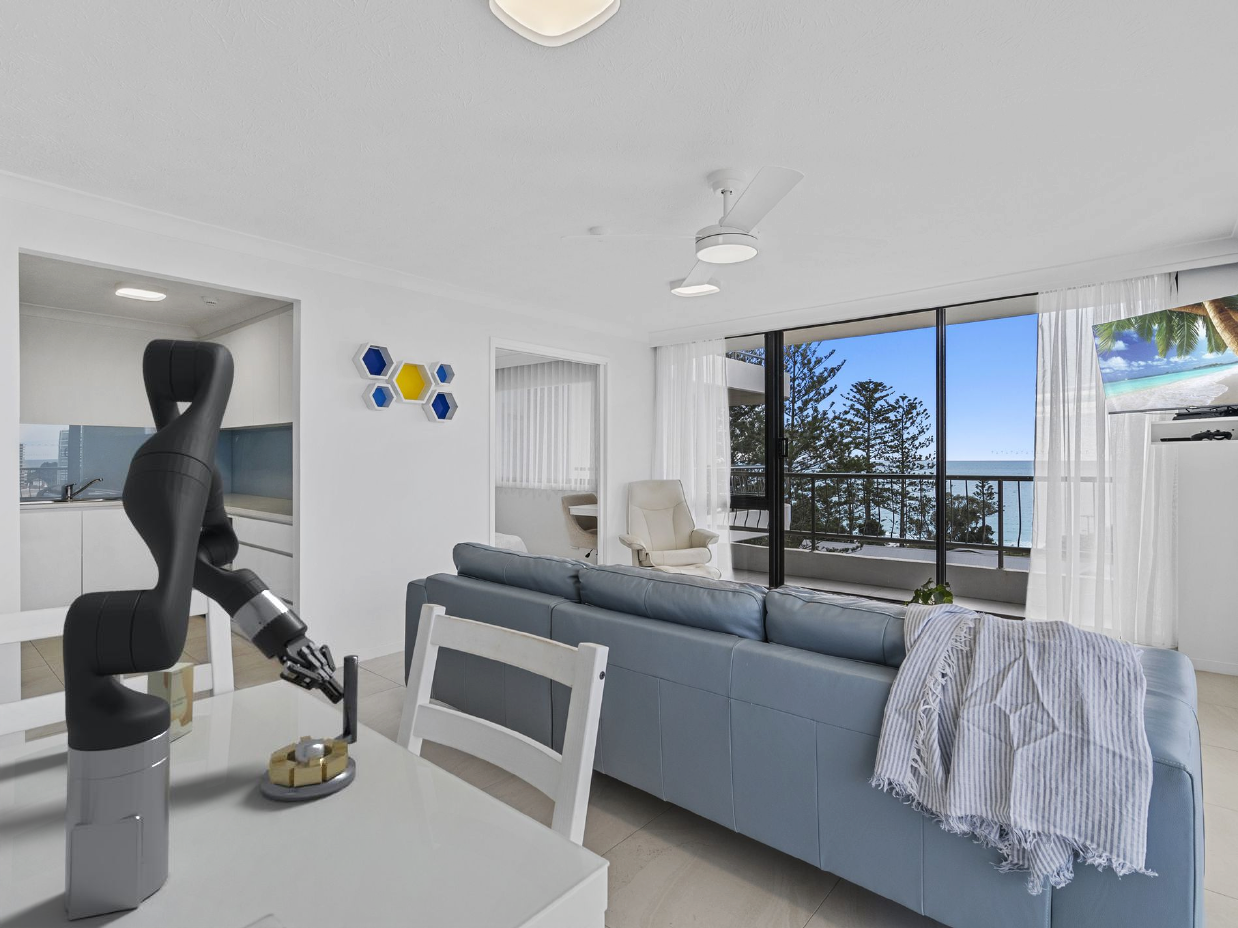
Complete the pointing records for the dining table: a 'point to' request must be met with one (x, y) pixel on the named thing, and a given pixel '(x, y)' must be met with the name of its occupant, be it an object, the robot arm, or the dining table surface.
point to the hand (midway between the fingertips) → (341, 698)
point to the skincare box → (175, 695)
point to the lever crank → (334, 749)
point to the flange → (311, 790)
